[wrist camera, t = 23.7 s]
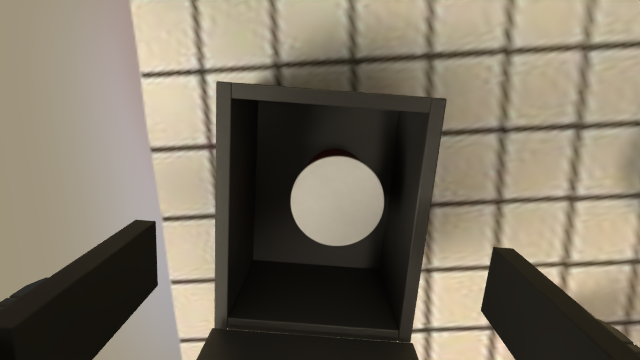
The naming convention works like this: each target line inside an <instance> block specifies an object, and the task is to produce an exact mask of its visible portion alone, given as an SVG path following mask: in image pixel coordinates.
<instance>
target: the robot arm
mask: <svg viewBox="0 0 640 360" xmlns="http://www.w3.org/2000/svg"><path fill="white" fill-rule="evenodd" d="M157 285H158V281H157V252H156V222H155V221H144V220H135V221H133V222H132V223H130V224H129V225H127V226H126V227H124V228H123V229H121V230H120V231H118V232H117V233H115V234H114V235H112V236H111V237H109V238H108V239H106V240H105V241H103V242H102V243H100V244H99V245H97V246H96V247H94V248H93V249H91V250H90V251H88V252H87V253H85V254H84V255H82V256H81V257H79V258H78V259H76V260H75V261H73V262H72V263H70V264H69V265H67V266H66V267H64V268H63V269H61V270H60V271H58V272H57V273H55V274H54V275H52V276H51V277H49V278H44V279H41V280H39V281H36V282H34V283H31V284H29V285H27V286H25V287H23V288H22V289H20V290H18V291H17V292H16V293H14V294H12V295H11V296H10V298H6V299H4V300H3V301H1V302H0V360H92V359H93V358H94V357H95V356H96V355H97V354H98V352H99V351H100V350H101V349H102V348H103V347H104V346H105V345H106V343H107V342H108V341H109V340H110V339H111V338H112V337H113V336H114V334H115V333H116V332H117V331H118V330H119V329H120V328H121V326H122V325H123V324H124V323H125V322H126V321H127V320H128V319H129V317H130V316H131V315H132V314H133V313H134V312H135V311H136V310H137V308H138V307H139V306H140V305H141V304H142V303H143V301H144V300H145V299H146V298H147V297H148V296H149V295H150V293H151V292H152V291H153V290H154V289H155V288H156V287H157ZM481 311H482V313H483V314H484V316H485V317H486V318H487V320H488V321H489V323H490V324H491V325H492V327H493V328H494V330H495V331H496V333H497V334H498V335H499V337H500V338H501V340H502V341H503V343H504V344H505V345H506V347H507V348H508V350H509V351H510V353H511V354H512V355H513V357H514V358H515V360H640V348H639V347H638V346H637V345H634V344H633V342H632V341H631V340H630V339H628V338H627V337H626V336H625V335H623V334H622V333H621V332H620V331H619V330H617V329H615V328H614V327H612V326H610V325H608V324H606V323H605V322H603V321H601V320H599V319H596V318H595V317H594V316H592V315H591V314H590V313H589V312H588V311H586V310H585V309H584V308H583V307H582V306H581V305H579V304H578V303H577V302H576V301H575V300H573V299H572V298H571V297H570V296H569V295H567V294H566V293H565V292H564V291H563V290H562V289H560V288H559V287H558V286H557V285H556V284H554V283H553V282H552V281H551V280H550V279H549V278H547V277H546V276H545V275H544V274H543V273H541V272H540V271H539V270H538V269H537V268H535V267H534V266H533V265H532V264H531V263H530V262H528V261H527V260H526V259H525V258H524V257H522V256H521V255H520V254H519V253H518V252H517V251H515V250H514V249H511V248H498V247H493V252H492V257H491V262H490V267H489V272H488V277H487V282H486V287H485V292H484V297H483V302H482V307H481Z"/></svg>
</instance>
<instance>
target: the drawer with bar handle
mask: <svg viewBox="0 0 640 360" xmlns="http://www.w3.org/2000/svg"><path fill="white" fill-rule="evenodd" d="M197 360H419V359H418V356H417V354H416V351H415V348H414V345H413V343H404V342H391V341H377V340H364V339H351V338H338V337H324V336H311V335H298V334H285V333H271V332H258V331H245V330H232V329H218V328H212V330H211V332H210V334H209V336H208V338H207V340H206V342H205V344H204V346H203V348H202V350H201V352H200V354H199V356H198V358H197Z"/></svg>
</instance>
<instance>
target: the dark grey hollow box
mask: <svg viewBox="0 0 640 360" xmlns="http://www.w3.org/2000/svg"><path fill="white" fill-rule="evenodd" d="M445 107H446V99H445V98H431V97H418V96H405V95H392V94H378V93H365V92H352V91H338V90H325V89H312V88H299V87H285V86H272V85H259V84H245V83H232V82H219V81H218V82H217V83H216V210H215V328H220V329H227V328H228V329H234V330H247V331H260V332H274V333H287V334H300V335H314V336H327V337H340V338H353V339H367V340H380V341H393V342H397V340H398V342H407V343H410V341H411V334H412V328H413V321H414V314H415V308H416V301H417V294H418V287H419V281H420V274H421V267H422V261H423V254H424V247H425V241H426V234H427V227H428V221H429V214H430V207H431V200H432V194H433V187H434V180H435V174H436V167H437V160H438V154H439V147H440V140H441V133H442V127H443V120H444V113H445ZM329 149H342V150H346V151H348V152H350V153H352V154H354V155H355V156H357V157H358V158H359V159H360V160H361V162H363V163H364V164H366V165H367V166H368V167H369V168H370V169H371V170H372V171H373V172H374V173H375V175H376V176H377V178H378V179H379V181H380V183H381V186H382V189H383V193H384V209H383V213H382V216H381V218H380V220H379V222H378V224H377V226H376V227H375V228H374V229H373V231H372V232H371V233H370V234H368V235H367V236H366V237H365V238H363V239H361V240H359V241H358V242H355V243H352V244H349V245H344V246H331V245H326V244H322V243H319V242H317V241H315V240H313V239H311V238H310V237H309V236H307V235H306V234H305V233H304V232H303V231H302V230H301V229H300V228H299V226H298V225H297V223H296V221H295V219H294V217H293V214H292V210H291V193H292V189H293V186H294V183H295V181H296V179H297V177H298V176H299V174H300V173H301V172H302V171H303V170H304V169H305V168H306V166H307V164H308V163H309V162H310V160H311V159H312V158H313V157H314V156H316V155H317V154H319V153H320V152H323V151H325V150H329Z"/></svg>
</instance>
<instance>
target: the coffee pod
mask: <svg viewBox="0 0 640 360" xmlns="http://www.w3.org/2000/svg"><path fill="white" fill-rule="evenodd" d="M383 209H384V193H383V189H382V186H381V183H380V181H379V179H378V178H377V176H376V175H375V173H374V172H373V171H372V170H371V169H370V168H369V167H368V166H367V165H366V164H364V163H363V162H361V160H360V159H359V158H358V157H357V156H355V155H354V154H352V153H350V152H348V151H346V150H342V149H329V150H325V151H323V152H320V153H319V154H317V155H316V156H314V157H313V158H312V159H311V160H310V162H309V163H308V164H307V166H306V168H305V169H304V170H303V171H302V172H301V173H300V174H299V176H298V177H297V179H296V181H295V183H294V186H293V189H292V193H291V210H292V214H293V217H294V219H295V221H296V223H297V225H298V226H299V228H300V229H301V230H302V231H303V232H304V233H305V234H306V235H307V236H309V237H310V238H311V239H313V240H315V241H317V242H319V243H322V244H326V245H331V246H344V245H349V244H352V243H355V242H358V241H359V240H361V239H363V238H365V237H366V236H367V235H368V234H370V233H371V232H372V231H373V229H374V228H375V227H376V226H377V224H378V222H379V220H380V218H381V216H382V213H383Z"/></svg>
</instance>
